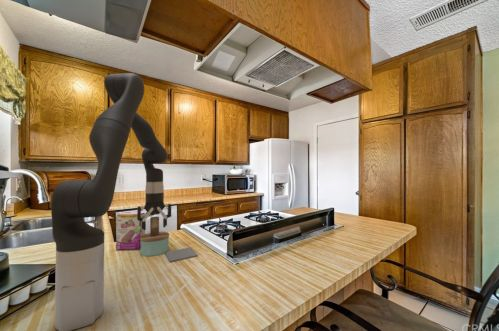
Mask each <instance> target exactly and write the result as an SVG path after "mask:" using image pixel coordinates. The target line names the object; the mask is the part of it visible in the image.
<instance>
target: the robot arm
mask: <svg viewBox="0 0 499 331" xmlns="http://www.w3.org/2000/svg"><path fill="white" fill-rule="evenodd" d="M103 81H104V83H103V84H104V88H105V91H106V93H107V95H108V97H109V99H110V100H111V101H112V103H113V104H111V105H110V106H109V107H107V108H106V109H105V110H103V112H101V113H100V114H99V115H98V117H97V118H96V119H95V121H94V123H93V125H92V128H91V130H90V132H89V136H88V138H89V144H90V146H91V149H92V151H93V153H94V155H95V158H96V161H97V170H96V173H95V175H94V177H93V179H68V180H64V181H63V180H62V181H61V182H60V183H57V185H56V186H55V188H54V190H53V192H52V195H51V202H50V213H51V232H52V234H51V236H52V239H53V241H54V243H55V279H54V280H55V283H54V284H55V287H54V289H55V290H54V329H55V330H57V331H73V330H76V329H80V328H83V327H86V326H90V325H93V324H95V321H96V320H97V319H98V318H100V317H101V315H102V314H103V313H104V306H105V305H104V303H105V302H104V300H105V296H104V295H105V290H104V289H105V288H104V286H105V284H104V282H105V232H104V230H102V229H101V228H99V227H98V228H97V227H95V226H92V225H91V224H89V223H88V222H86V220H85V218H99V217H102V216H104V215H105V214H106V213H108V211H109V209H110V208H111V206H112V202H113V199H114V196H115V195H114V194H115V190H116V184H117V179H118V175H119V168H120V164H121V163H122V157H123V155H124V151H125V148H126V145H127V143H128V140H129V136H130V132H131V130H132V131H133V133H134V136H135V138H136V139H137V141H138V144H139V145H140V147H141V148H144V149H143V150H142V153H141V160H142V162H143V166H144V170H145V174H146V175H145V189H144V190H145V191H144V192H145V193H144V194H145V200H144V201H145V202H144V205H143V206H140V205H138V206H137V211H136V212H137V220H138V221H142V229H144V230H145V231H146V228H147V226H146V225H147V224H146V223H147V219H148V218H149V216H150V215H151V216H154V215H161V216H162V218H163V219H162V221H163V222H162V226H163V228H166V226H168V218H172V204H171V203H166V204H165V203H164V201H165V200H164V196H165V194H164V193H165V191H164V189H165V188H164V171H163V169H162V168H161V169H160V168H157V167H155V165H154V164H163V163H165V162H166V161H167V160H168V152H167V150H166V148H165V147H164V145H162V143H161V142H160V140H158V139H157V136H156V134H155V131H154V129H153V127H152V126H151V124H150V123H149V122H148V121H147V120H146V119H145V118H144V117H143V116H141V114H139V113H138V109H139V107H140V105H141V104H142V101H143V99H144V95H145V85H144V84H145V83H144V80H143V79H142V77H140V75H138V74H136V73H132V72H127V73H126V72H123V73H111V74H107V75H105V78H104V80H103ZM164 209H166V210H167V214H165V212H164V211H163V210H164ZM143 210H145V211H146V212H145V215H144V217H143V218H141V212H143Z"/></svg>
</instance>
